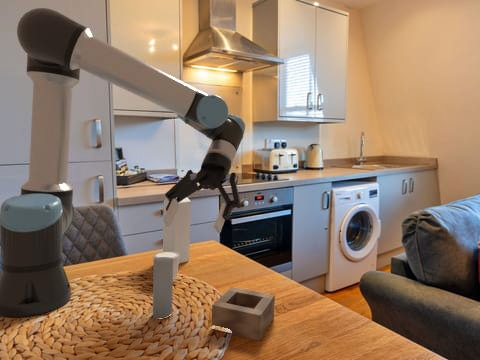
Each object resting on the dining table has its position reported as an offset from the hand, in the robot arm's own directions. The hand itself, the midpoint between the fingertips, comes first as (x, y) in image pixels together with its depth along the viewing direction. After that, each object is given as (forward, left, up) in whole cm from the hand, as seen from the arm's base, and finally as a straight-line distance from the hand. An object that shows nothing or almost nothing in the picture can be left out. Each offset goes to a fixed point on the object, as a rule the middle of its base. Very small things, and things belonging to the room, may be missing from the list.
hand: (190, 226), depth 85 cm
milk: (-16, +21, -17) cm, 32 cm away
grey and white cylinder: (-10, +6, -17) cm, 21 cm away
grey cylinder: (0, -11, -17) cm, 20 cm away
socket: (+17, -7, -17) cm, 25 cm away
